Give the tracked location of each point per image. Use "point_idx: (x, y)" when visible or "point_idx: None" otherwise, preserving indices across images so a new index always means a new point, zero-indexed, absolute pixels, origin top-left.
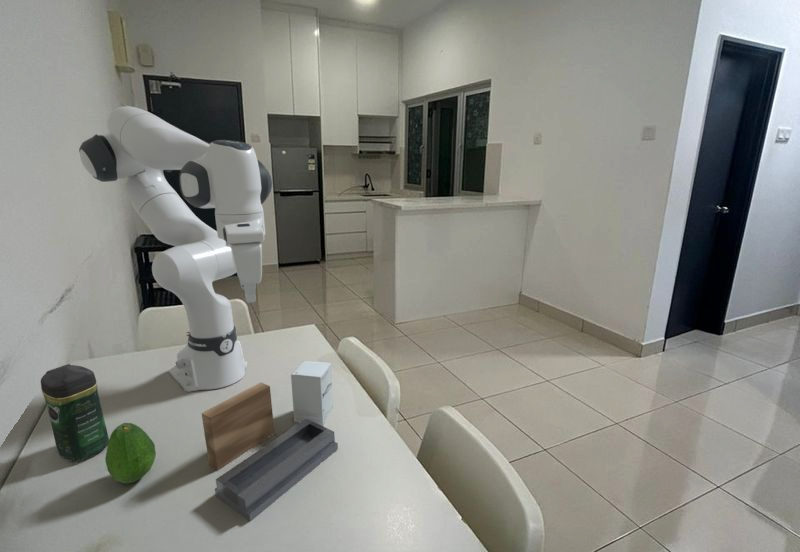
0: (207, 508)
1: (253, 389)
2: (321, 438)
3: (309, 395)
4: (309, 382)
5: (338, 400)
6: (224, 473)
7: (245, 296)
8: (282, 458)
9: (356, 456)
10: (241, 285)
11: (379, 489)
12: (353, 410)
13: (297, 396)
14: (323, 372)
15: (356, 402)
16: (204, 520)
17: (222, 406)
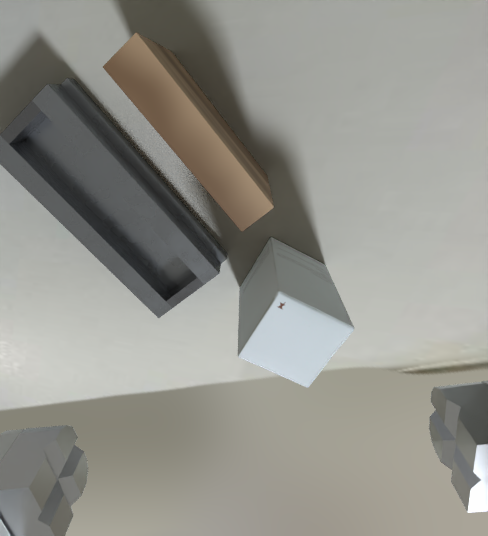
0: (42, 65)
1: (236, 186)
2: (142, 294)
3: (250, 302)
4: (250, 323)
5: None
6: (63, 102)
7: (19, 459)
8: (134, 212)
9: (135, 327)
10: (457, 414)
11: (55, 343)
12: None
13: (266, 274)
14: (260, 366)
15: None
16: (13, 63)
17: (161, 98)
